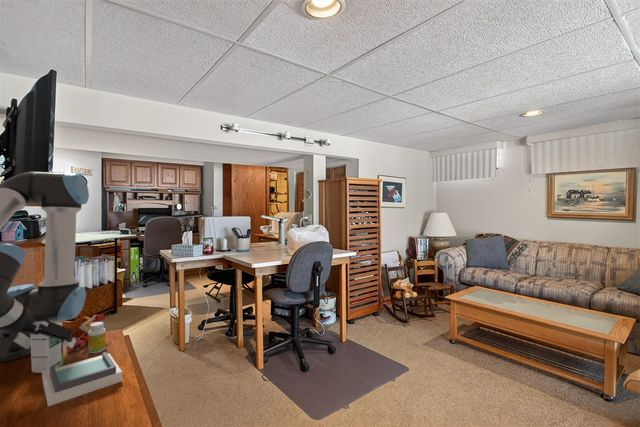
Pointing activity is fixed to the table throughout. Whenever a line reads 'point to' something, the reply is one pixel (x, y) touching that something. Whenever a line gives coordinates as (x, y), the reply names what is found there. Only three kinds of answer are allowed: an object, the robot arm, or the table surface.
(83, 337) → the toy fire truck
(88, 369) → the dock
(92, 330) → the supplement bottle
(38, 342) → the syrup box
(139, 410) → the table surface
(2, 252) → the robot arm
